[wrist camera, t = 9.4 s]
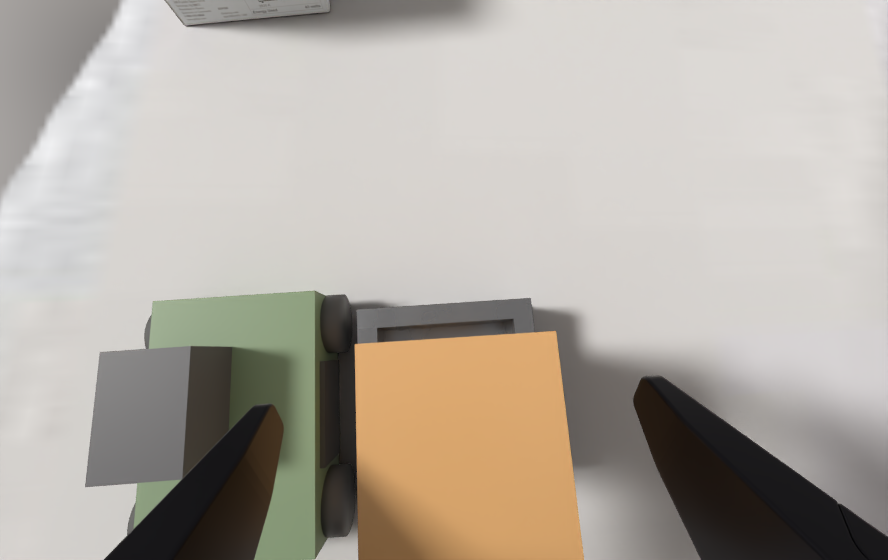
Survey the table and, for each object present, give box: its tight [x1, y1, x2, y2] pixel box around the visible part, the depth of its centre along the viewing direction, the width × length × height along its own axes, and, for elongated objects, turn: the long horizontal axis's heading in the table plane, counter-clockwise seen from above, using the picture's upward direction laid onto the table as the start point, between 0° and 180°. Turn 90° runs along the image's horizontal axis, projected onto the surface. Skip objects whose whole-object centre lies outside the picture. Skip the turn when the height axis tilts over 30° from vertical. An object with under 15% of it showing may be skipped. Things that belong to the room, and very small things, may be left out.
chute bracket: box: [357, 298, 535, 344], centre depth 19 cm, size 10×10×4 cm
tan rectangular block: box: [355, 331, 584, 560], centre depth 15 cm, size 6×5×12 cm
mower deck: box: [85, 291, 355, 560], centre depth 17 cm, size 12×10×7 cm
